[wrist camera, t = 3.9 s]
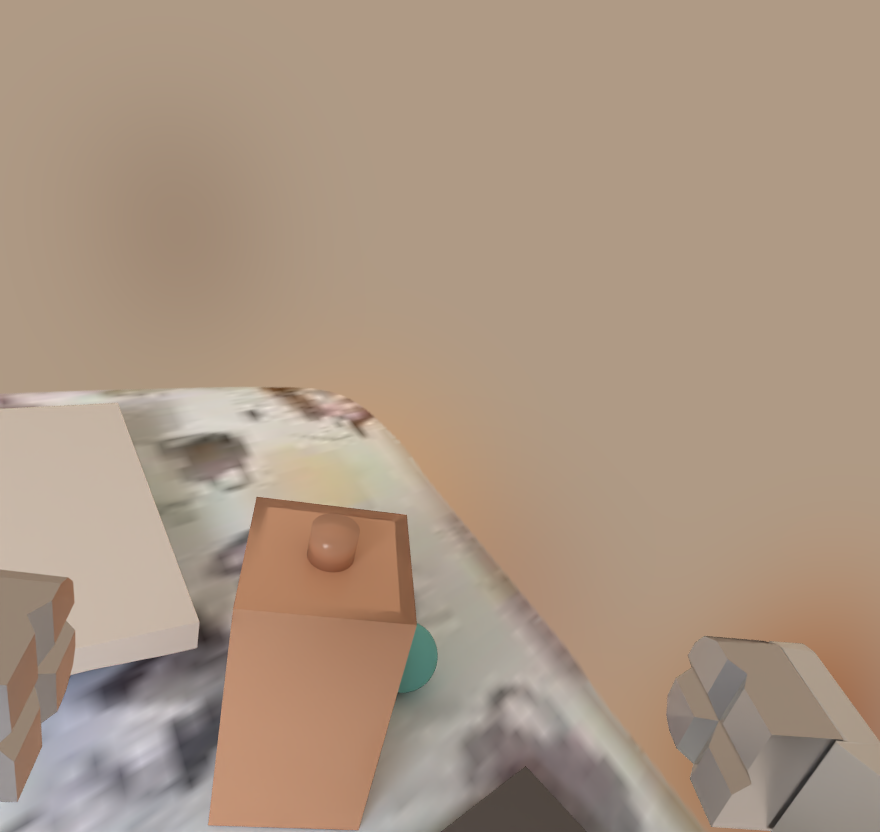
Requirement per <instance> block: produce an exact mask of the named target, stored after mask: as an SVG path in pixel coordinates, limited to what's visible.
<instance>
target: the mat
mask: <svg viewBox="0 0 880 832" xmlns="http://www.w3.org/2000/svg"><path fill="white" fill-rule="evenodd" d="M441 832H586V831H585V829H584V828H583V827H582V826H581V825H580V824H579V823H578V822H577V821H576V820H575V819H574V818H573V817H572V815H571V814H570V813H569V812H568V811H567V810H566V809H565V808H564V807H563V806H562V805H561V804H560V803H559V801H558V800H557V799H556V798H555V797H554V796H553V795H552V794H551V793H550V792H549V791H548V790H547V789H546V787H545V786H544V785H543V784H542V783H541V782H540V781H539V780H538V779H537V778H536V777H535V776H534V775H533V774H532V772H531V771H530V770H529V769H528V768H527V767H526V766H525V767H524V768H523V769H521V770H520V771H519V772H517V773H516V774H515V775H514V776H512V777H511V778H510V779H508V780H507V781H506V782H505V783H503V784H502V785H501V786H499V787H498V788H497V789H496V790H494V791H493V792H492V793H490V794H489V795H488V796H487V797H485V798H484V799H483V800H481V801H480V802H479V803H478V804H476V805H475V806H474V807H472V808H471V809H470V810H468V811H467V812H466V813H465V814H463V815H462V816H461V817H459V818H458V819H457V820H456V821H454V822H453V823H452V824H450V825H449V826H448V827H447V828H445V829H444V830H443V831H441Z"/></svg>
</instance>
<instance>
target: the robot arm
mask: <svg viewBox="0 0 880 832" xmlns="http://www.w3.org/2000/svg"><path fill="white" fill-rule="evenodd" d="M74 603H75V601H74V586H73V581H72V580H71V579H70V578H68V577H61V576H52V575H43V574H35V573H26V572H17V571H9V570H0V802H18V800H19V797H20V795H21V793H22V791H23V788H24V786H25V784H26V781H27V779H28V777H29V775H30V772H31V770H32V768H33V766H34V763H35V761H36V759H37V757H38V754H39V752H40V750H41V748H42V736H41V723H42V722H44V721H45V720H47V719H48V718H49V717H51V716H52V715H53V714H55V713H56V712H57V711H58V708H59V706H60V704H61V701H62V699H63V696H64V694H65V692H66V689H67V685H68V681H69V678H70V674H71V670H72V667H73V661H74V653H75V629H74V628H73V627H72V626H71V625H70V624H69V623H68V622H67V621H66V619H67V617H68V615H69V613H70V611H71V609H72V607H73V605H74ZM688 658H689V661H690V664H691V667H692V668H690V669H689V670H687V671H686V672H684V673H683V674H681V675H680V676H678V677H677V678H676V679H675V681H674V683H673V685H672V687H671V690H670V692H669V694H668V699H667V720H668V725H669V731H670V733H671V736H672V738H673V740H674V743H675V745H676V748H677V749H678V750H679V751H680V752H681V753H682V754H684V755H685V756H686V757H687V758H688V759H689V760H690V761H691V762H692V763H693V768H692V773H691V777H690V780H691V782H692V784H693V786H694V789H695V791H696V793H697V796H698V798H699V800H700V802H701V805H702V807H703V809H704V811H705V814H706V816H707V818H708V820H709V823H710V825H711V827H723V828H738V829H753V830H767V831H771V832H880V742H879V740H878V739H877V737H876V736H875V735H874V733H873V732H872V730H871V729H870V728H869V726H868V725H867V724H866V722H865V721H864V719H863V718H862V717H861V715H860V714H859V713H858V711H857V710H856V708H855V707H854V706H853V704H852V703H851V702H850V700H849V699H848V698H847V696H846V695H845V693H844V692H843V691H842V689H841V688H840V687H839V685H838V684H837V682H836V681H835V680H834V678H833V677H832V676H831V674H830V673H829V671H828V670H827V669H826V667H825V666H824V664H823V663H822V662H821V660H820V659H819V658H818V656H817V655H816V653H815V652H814V651H813V650H811V649H810V648H808V647H807V646H806V645H804V644H799V643H787V642H774V641H770V642H766V641H759V640H747V639H735V638H723V637H710V636H704V637H702V638H701V639H699V640H698V641H696V642H695V644H694V645H693V647H692V649H691V651H690V652H689V654H688Z"/></svg>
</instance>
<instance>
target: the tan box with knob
mask: <svg viewBox="0 0 880 832" xmlns="http://www.w3.org/2000/svg"><path fill="white" fill-rule="evenodd" d="M416 627H417V621H416V610H415V599H414V588H413V578H412V567H411V556H410V545H409V534H408V524H407V515H403V514H395V513H387V512H378V511H370V510H362V509H353V508H345V507H337V506H329V505H320V504H312V503H304V502H295V501H287V500H279V499H270V498H262V497H257V498H256V503H255V508H254V513H253V517H252V522H251V527H250V531H249V536H248V541H247V546H246V550H245V555H244V560H243V565H242V569H241V574H240V579H239V584H238V588H237V593H236V598H235V603H234V607H233V615H232V624H231V632H230V641H229V650H228V658H227V667H226V676H225V684H224V693H223V702H222V710H221V719H220V728H219V736H218V745H217V754H216V762H215V771H214V779H213V788H212V797H211V805H210V814H209V823H208V825H215V826H246V827H277V828H309V829H340V830H359V826H360V823H361V819H362V816H363V812H364V809H365V805H366V802H367V798H368V795H369V791H370V788H371V784H372V781H373V777H374V774H375V770H376V767H377V763H378V760H379V756H380V753H381V749H382V746H383V742H384V739H385V735H386V732H387V728H388V725H389V721H390V718H391V714H392V711H393V707H394V704H395V700H396V697H397V693H398V690H399V686H400V683H401V679H402V676H403V672H404V669H405V665H406V662H407V658H408V655H409V651H410V648H411V644H412V641H413V637H414V634H415V630H416Z"/></svg>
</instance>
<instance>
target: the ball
mask: <svg viewBox="0 0 880 832" xmlns="http://www.w3.org/2000/svg"><path fill="white" fill-rule="evenodd" d="M436 665H437V647H436V644H435V641H434V639H433V637H432V636H431V634H430V633H429V632H428V631H427V630H426V629H425V628H424V627H423V626H421V625H419V624H417V627H416V630H415V634H414V637H413V641H412V644H411V648H410V651H409V655H408V658H407V662H406V665H405V669H404V672H403V676H402V679H401V683H400V686H399V690H398V692H400V693H405V692H411V691H414V690H417V689H419V688H420V687H422V686H423V685H424V684H426V683H427V682H428V681H429V679H430V678H431V676H432V675H433V673H434V671H435V668H436Z"/></svg>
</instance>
